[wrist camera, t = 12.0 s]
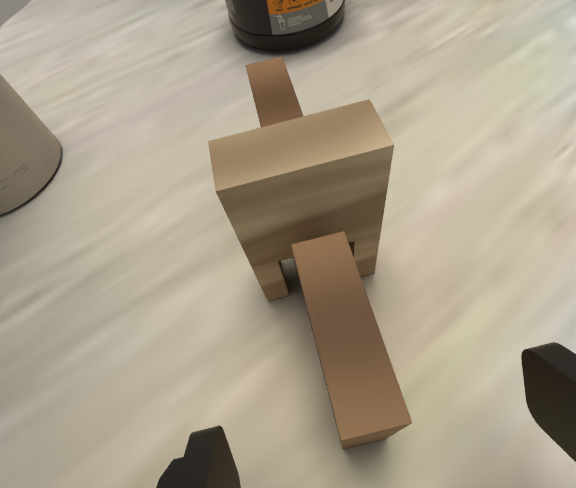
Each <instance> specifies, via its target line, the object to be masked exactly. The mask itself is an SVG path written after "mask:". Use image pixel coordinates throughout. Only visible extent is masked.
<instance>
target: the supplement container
mask: <svg viewBox="0 0 576 488" xmlns="http://www.w3.org/2000/svg"><path fill="white" fill-rule="evenodd" d="M225 1H226V5H227V9H228V13H229V20H230V24H231V26H232V29H233V30H234V32H235V34H236V35H237V36H238V37H239V38H240V39H241V40H242V41H244V42H245V43H247V44H249V45H252V46H254V47H257V48H261V49H267V50H288V49H294V48H299V47H302V46H306V45H308V44H311V43H313V42H315V41H317V40H319V39H321V38H322V37H324V36H325V35H327V34H328V33H329V32H331V31H332V30H333V29H334V28H335V27H336V25H337V24H338V23H339V21H340V20H341V17H342V15H343V12H344V8H345V0H225Z"/></svg>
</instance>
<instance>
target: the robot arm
mask: <svg viewBox="0 0 576 488" xmlns="http://www.w3.org/2000/svg"><path fill="white" fill-rule="evenodd" d="M60 157H61V146H60V144H59V141H58V140H57V138H56V137H55V136H54V135H53V134H52V133H51V131H50V130H49V129H48V128H47V127H46V126H45V125H44V123H43V122H42V121H41V120H40V119H39V118H38V117H37V115H36V114H35V113H34V112H33V111H32V110H31V109H30V107H29V106H28V105H27V104H26V103H25V102H24V101H23V99H22V98H21V97H20V96H19V95H18V93H17V92H16V91H15V90H14V89H13V88H12V87H11V86H10V84H9V83H8V82H7V81H6V80H5V79H4V78H3V77H2V75H1V74H0V215H1V214H4V213H6V212H9V211H11V210H13V209H14V208H16V207H18V206H20V205H21V204H23V203H24V202H26V201H27V200H29V199H30V198H31V197H33V196H34V195H35V194H36V193H37V192H38V191H39V190H40V189H42V188H43V187H44V186H45V185H46V183H47V182H48V181H49V179H50V178H51V177H52V176H53V174H54V172H55V170H56V168H57V167H58V164H59V161H60ZM521 357H522V368H523V377H524V386H525V395H526V402H527V406H528V408H529V411H530V413H531V415H532V417H533V418H534V420H535V421H536V423H537V424H538V425H539V426H540V427H541V428H542V429H543V430H544V431H545V432H546V433H547V434H548V435H549V436H550V437H551V438H552V439H553V440H554V441H555V442H556V443H557V444H558V445H559V446H560V447H561V448H562V449H563V450H564V451H565V452H566V453H567V454H568V455H569V456H570V457H571V458H572V459H573V460H574V461H575V462H576V354H575V353H573V352H571V351H570V350H568V349H567V348H565V347H564V346H562V345H560V344H558V343H554V342H553V343H549V344H545V345H541V346H537V347H533V348H529V349H525V350H523V352H522V356H521ZM156 488H241V486H240V479H239V475H238V471H237V468H236V465H235V462H234V459H233V456H232V453H231V450H230V447H229V445H228V442H227V439H226V436H225V433H224V430H223V428H222V427H221V426H216V427H212V428H208V429H204V430H200V431H196V432H193V433H191V435H190V437H189V440H188V444H187V447H186V451H185V454H184V457H182V458H178V459H174V460H173V461H172V462H171V463H170V465H169V466H168V468H167V469H166V470H165V472H164V473H163V475H162V476H161V477H160V479H159V481H158V484H157V487H156Z"/></svg>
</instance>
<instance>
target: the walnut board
mask: <svg viewBox="0 0 576 488" xmlns="http://www.w3.org/2000/svg"><path fill="white" fill-rule="evenodd" d="M246 69H247V73H248V77H249V81H250V85H251V89H252V93H253V97H254V101H255V105H256V109H257V113H258V117H259V121H260V125H261V128H262V127H265V126H269V125H273V124H277V123H281V122H285V121H288V120H292V119H296V118H300V117H303V114H302V111H301V108H300V105H299V103H298V100H297V97H296V94H295V91H294V88H293V86H292V83H291V80H290V77H289V74H288V72H287V69H286V66H285V63H284V60H283V57H282V56H281V57H277V58H273V59H269V60H265V61H261V62H257V63H253V64H250V65H246ZM291 246H292V250H293V254H294V260H295V264H296V268H297V271H298V275H299V279H300V283H301V287H302V291H303V295H304V299H305V303H306V307H307V311H308V315H309V319H310V323H311V327H312V331H313V334H314V338H315V342H316V346H317V350H318V354H319V358H320V362H321V366H322V370H323V374H324V378H325V382H326V386H327V390H328V393H329V397H330V401H331V405H332V409H333V413H334V417H335V421H336V425H337V429H338V433H339V437H340V441H341V445H342V449H345V448H349V447H353V446H357V445H361V444H365V443H369V442H373V441H377V440H381V439H385V438H388V437H390V436H391V435H393V434H394V433H396V432H398V431H399V430H401V429H403V428H404V427H406V426H408V425H409V424H411V423H412V421H411V418H410V415H409V413H408V410H407V407H406V404H405V401H404V399H403V396H402V393H401V390H400V387H399V384H398V382H397V379H396V376H395V373H394V370H393V368H392V365H391V362H390V359H389V356H388V353H387V351H386V348H385V345H384V342H383V339H382V337H381V334H380V331H379V328H378V325H377V322H376V320H375V317H374V314H373V311H372V308H371V306H370V303H369V300H368V297H367V294H366V291H365V289H364V286H363V283H362V280H361V277H360V275H359V272H358V269H357V266H356V263H355V260H354V258H353V255H352V252H351V249H350V246H349V243H348V241H347V238H346V235H345V232H344V231H343V232H339V233H335V234H331V235H327V236H323V237H319V238H315V239H311V240H307V241H303V242H299V243H295V244H291Z"/></svg>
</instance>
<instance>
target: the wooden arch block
mask: <svg viewBox="0 0 576 488" xmlns="http://www.w3.org/2000/svg"><path fill="white" fill-rule="evenodd" d="M208 143H209V150H210V156H211V163H212V170H213V176H214V183H215V190H216V193H217V195H218V197H219V199H220V201H221V203H222V206H223V208H224V210H225V212H226V214H227V216H228V218H229V220H230V222H231V224H232V227H233V229H234V231H235V233H236V235H237V237H238V239H239V241H240V243H241V246H242V248H243V250H244V252H245V254H246V256H247V258H248V260H249V262H250V265H251V267H252V269H253V271H254V273H255V275H256V277H257V279H258V281H259V283H260V286H261V288H262V290H263V292H264V294H265V296H266V298H267V300H268V301H270V300H274V299H278V298H281V297H285V296H289V293H288V289H287V285H286V281H285V276H284V272H283V268H282V264H281V260H284V259H288V258H292V257H294V254H293V250H292V246H291V244H295V243H299V242H303V241H307V240H311V239H315V238H319V237H323V236H327V235H331V234H335V233H339V232H343V231H344V232H345V235H346V238H347V241H348V243H349V246H350V249H351V252H352V255H353V258H354V260H355V263H356V266H357V269H358V272H359V275H360V277H362V276H366V275H369V274H373V273H374V272H375V265H376V259H377V252H378V246H379V239H380V233H381V226H382V220H383V213H384V207H385V200H386V194H387V187H388V181H389V174H390V168H391V161H392V155H393V148H394V144H393V142H392V140H391V138H390V136H389V135H388V133H387V131H386V129H385V127H384V125H383V123H382V122H381V120H380V118H379V116H378V114H377V112H376V110H375V109H374V107H373V105H372V103H371V101H370V99H369V100H365V101H361V102H357V103H354V104H350V105H346V106H342V107H338V108H334V109H331V110H327V111H323V112H319V113H315V114H311V115H308V116H304V117H300V118H296V119H292V120H288V121H285V122H281V123H277V124H273V125H269V126H265V127H262V128H258V129H254V130H250V131H246V132H242V133H239V134H235V135H231V136H227V137H223V138H219V139H216V140H212V141H208Z"/></svg>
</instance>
